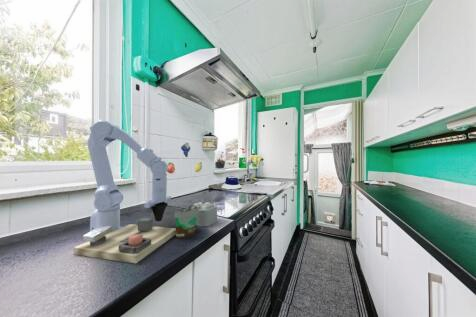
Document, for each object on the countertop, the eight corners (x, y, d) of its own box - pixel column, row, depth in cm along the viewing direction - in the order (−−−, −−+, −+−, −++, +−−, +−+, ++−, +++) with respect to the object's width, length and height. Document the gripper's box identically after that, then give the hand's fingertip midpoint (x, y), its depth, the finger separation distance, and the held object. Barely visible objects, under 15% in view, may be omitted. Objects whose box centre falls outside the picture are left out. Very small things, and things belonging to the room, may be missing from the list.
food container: (189, 241, 58) (189, 213, 59) (173, 240, 59) (174, 212, 60) (203, 228, 70) (203, 204, 71) (190, 227, 72) (190, 204, 72)
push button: (125, 248, 49) (125, 238, 49) (135, 243, 52) (135, 233, 52) (135, 250, 48) (136, 239, 48) (145, 244, 52) (145, 234, 52)
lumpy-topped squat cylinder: (205, 228, 71) (205, 207, 71) (184, 222, 77) (184, 204, 78) (219, 220, 80) (219, 202, 80) (199, 216, 86) (199, 199, 87)
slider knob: (137, 230, 62) (137, 220, 62) (143, 227, 65) (143, 217, 65) (146, 231, 61) (147, 221, 62) (152, 228, 64) (152, 218, 64)
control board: (73, 254, 50) (73, 242, 50) (129, 228, 69) (129, 220, 69) (135, 263, 45) (136, 250, 45) (176, 233, 65) (177, 224, 65)
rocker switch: (83, 240, 51) (82, 235, 50) (102, 229, 56) (102, 225, 56) (94, 242, 50) (93, 237, 50) (112, 230, 56) (112, 226, 55)
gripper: (155, 191, 63) (155, 227, 63) (177, 186, 78) (176, 216, 77) (140, 191, 65) (139, 226, 64) (163, 186, 79) (163, 215, 78)
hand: (158, 220), depth 71 cm, fingers closed
